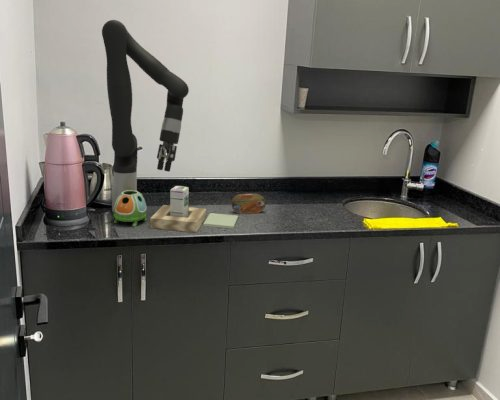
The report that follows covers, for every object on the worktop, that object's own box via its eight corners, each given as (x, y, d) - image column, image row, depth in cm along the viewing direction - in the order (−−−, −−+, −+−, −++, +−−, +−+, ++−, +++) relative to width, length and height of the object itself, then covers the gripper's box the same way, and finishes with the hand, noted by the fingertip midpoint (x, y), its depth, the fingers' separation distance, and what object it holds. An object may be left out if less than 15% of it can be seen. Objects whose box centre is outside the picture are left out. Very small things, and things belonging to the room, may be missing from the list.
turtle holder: (155, 214, 208) (155, 186, 205) (138, 228, 191) (138, 198, 188) (126, 211, 210) (126, 183, 207) (108, 224, 193) (107, 195, 189)
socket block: (150, 228, 192) (150, 218, 191) (163, 214, 209) (163, 204, 208) (196, 232, 190) (196, 222, 189) (205, 218, 208) (206, 208, 206)
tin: (231, 214, 215) (232, 195, 213) (230, 211, 218) (231, 193, 216) (265, 213, 219) (266, 194, 217) (263, 211, 222) (264, 192, 220)
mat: (203, 225, 198) (203, 223, 198) (210, 215, 211) (210, 213, 211) (233, 228, 197) (233, 226, 197) (238, 217, 210) (238, 215, 210)
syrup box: (183, 226, 197) (184, 190, 193) (169, 224, 198) (170, 188, 194) (188, 221, 202) (189, 186, 198) (174, 219, 203) (175, 185, 199)
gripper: (156, 128, 205) (148, 167, 205) (168, 128, 193) (160, 170, 193) (173, 132, 209) (165, 171, 209) (186, 132, 197) (178, 173, 197)
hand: (163, 170), depth 201 cm, fingers open, 8 cm apart
